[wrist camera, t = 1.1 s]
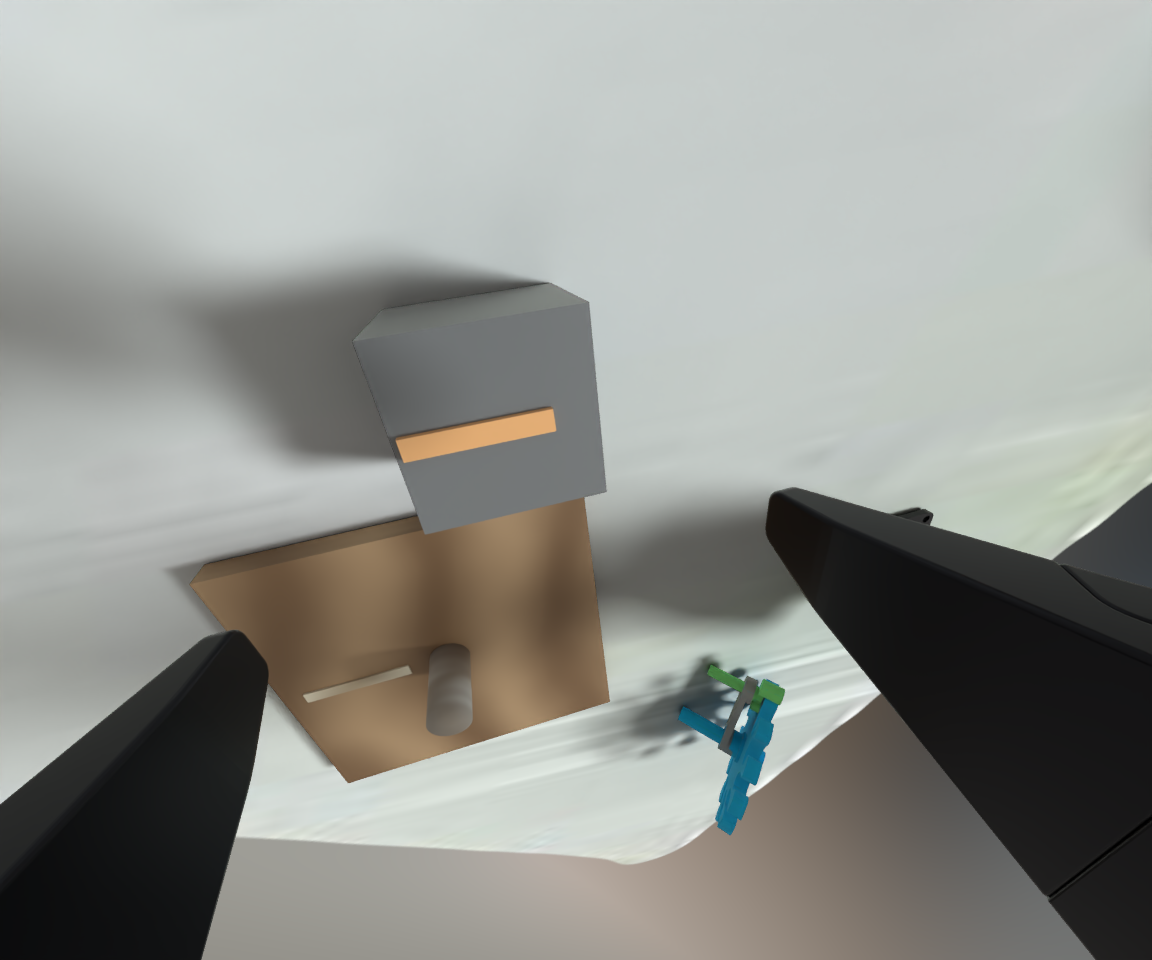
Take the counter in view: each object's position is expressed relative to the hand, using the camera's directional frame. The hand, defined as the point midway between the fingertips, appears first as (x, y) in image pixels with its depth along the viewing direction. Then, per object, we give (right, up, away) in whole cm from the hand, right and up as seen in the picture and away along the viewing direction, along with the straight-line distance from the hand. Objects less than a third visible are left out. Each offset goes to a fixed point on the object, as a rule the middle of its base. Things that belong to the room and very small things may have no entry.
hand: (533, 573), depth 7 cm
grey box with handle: (-3, +6, +10) cm, 12 cm away
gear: (+12, -15, +26) cm, 32 cm away
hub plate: (-6, -7, +16) cm, 18 cm away
